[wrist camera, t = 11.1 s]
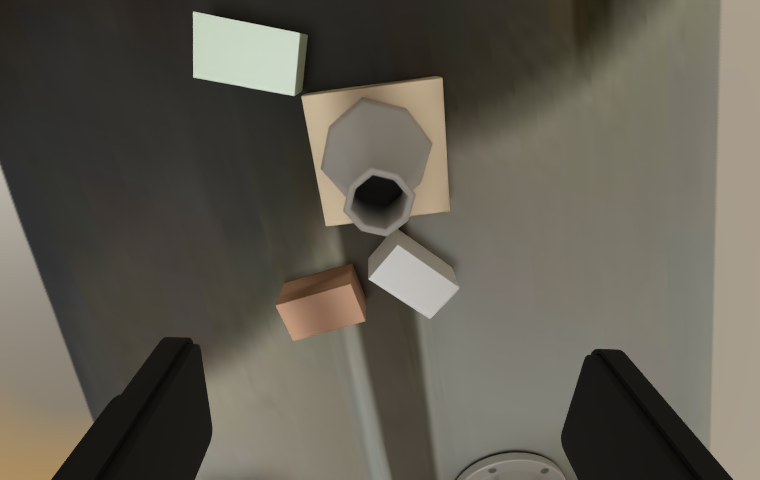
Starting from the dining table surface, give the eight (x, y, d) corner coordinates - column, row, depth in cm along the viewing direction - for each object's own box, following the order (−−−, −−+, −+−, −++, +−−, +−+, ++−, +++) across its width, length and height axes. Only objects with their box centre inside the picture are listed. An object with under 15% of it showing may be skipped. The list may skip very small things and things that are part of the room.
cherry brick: (352, 262, 34) (350, 283, 31) (365, 296, 36) (365, 321, 32) (284, 282, 35) (275, 305, 32) (299, 315, 36) (293, 341, 33)
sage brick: (308, 35, 27) (300, 32, 24) (302, 90, 29) (294, 96, 25) (214, 16, 27) (193, 11, 23) (213, 74, 28) (193, 77, 25)
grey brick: (451, 266, 35) (460, 287, 31) (424, 295, 36) (430, 319, 32) (394, 226, 33) (397, 244, 30) (368, 257, 34) (368, 279, 31)
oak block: (435, 75, 29) (442, 77, 26) (442, 197, 33) (449, 211, 30) (307, 92, 29) (301, 96, 26) (329, 211, 33) (326, 226, 30)
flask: (357, 75, 26) (351, 87, 17) (450, 138, 28) (491, 179, 19) (302, 172, 28) (271, 227, 19) (391, 223, 30) (401, 297, 21)
